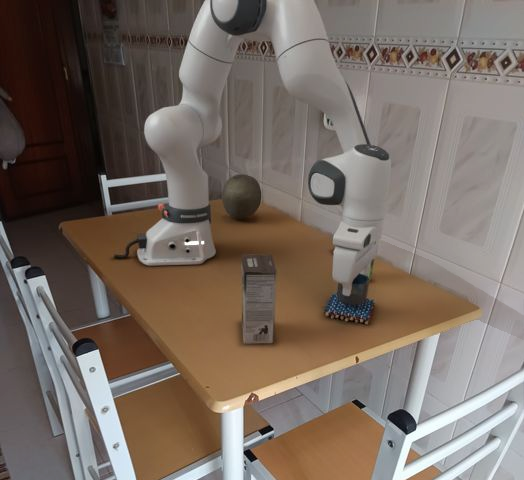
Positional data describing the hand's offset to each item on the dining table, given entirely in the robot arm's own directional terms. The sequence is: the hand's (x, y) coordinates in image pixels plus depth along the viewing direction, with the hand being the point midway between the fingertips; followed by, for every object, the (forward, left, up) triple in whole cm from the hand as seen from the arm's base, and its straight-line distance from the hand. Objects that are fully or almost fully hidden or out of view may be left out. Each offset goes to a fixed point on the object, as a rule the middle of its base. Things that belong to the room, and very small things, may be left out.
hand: (353, 287), depth 112 cm
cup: (0, 0, -3) cm, 3 cm away
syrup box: (+11, +17, -6) cm, 21 cm away
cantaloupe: (-3, +74, -6) cm, 74 cm away
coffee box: (-24, -3, -6) cm, 25 cm away
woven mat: (0, 0, -6) cm, 6 cm away
